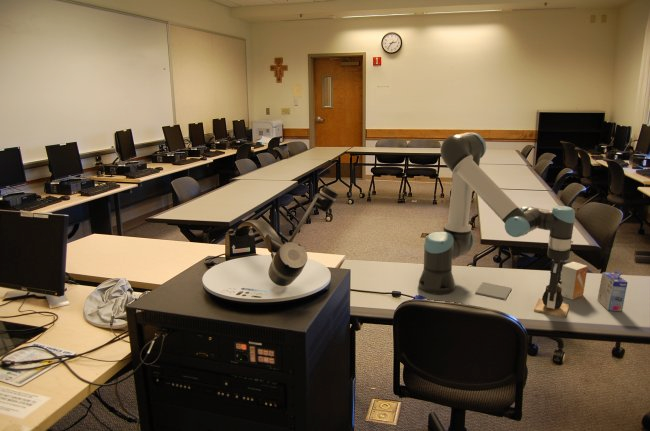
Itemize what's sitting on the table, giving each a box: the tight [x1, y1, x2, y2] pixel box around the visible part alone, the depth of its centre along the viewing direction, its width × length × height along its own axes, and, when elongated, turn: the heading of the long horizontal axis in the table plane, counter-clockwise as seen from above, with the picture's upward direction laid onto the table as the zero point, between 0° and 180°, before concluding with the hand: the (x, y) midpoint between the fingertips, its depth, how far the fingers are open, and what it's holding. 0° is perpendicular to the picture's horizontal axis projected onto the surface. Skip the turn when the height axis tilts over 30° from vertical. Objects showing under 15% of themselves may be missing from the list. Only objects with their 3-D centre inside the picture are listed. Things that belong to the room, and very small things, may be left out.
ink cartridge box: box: [597, 269, 628, 312], centre depth 185 cm, size 10×6×14 cm, turn 174°
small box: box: [559, 261, 588, 301], centre depth 195 cm, size 8×6×13 cm
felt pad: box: [475, 282, 512, 301], centre depth 201 cm, size 12×12×1 cm
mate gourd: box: [541, 284, 564, 309], centre depth 184 cm, size 7×8×10 cm
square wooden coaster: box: [533, 298, 570, 319], centre depth 186 cm, size 11×11×1 cm
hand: (552, 303), depth 185 cm, fingers open, 8 cm apart
